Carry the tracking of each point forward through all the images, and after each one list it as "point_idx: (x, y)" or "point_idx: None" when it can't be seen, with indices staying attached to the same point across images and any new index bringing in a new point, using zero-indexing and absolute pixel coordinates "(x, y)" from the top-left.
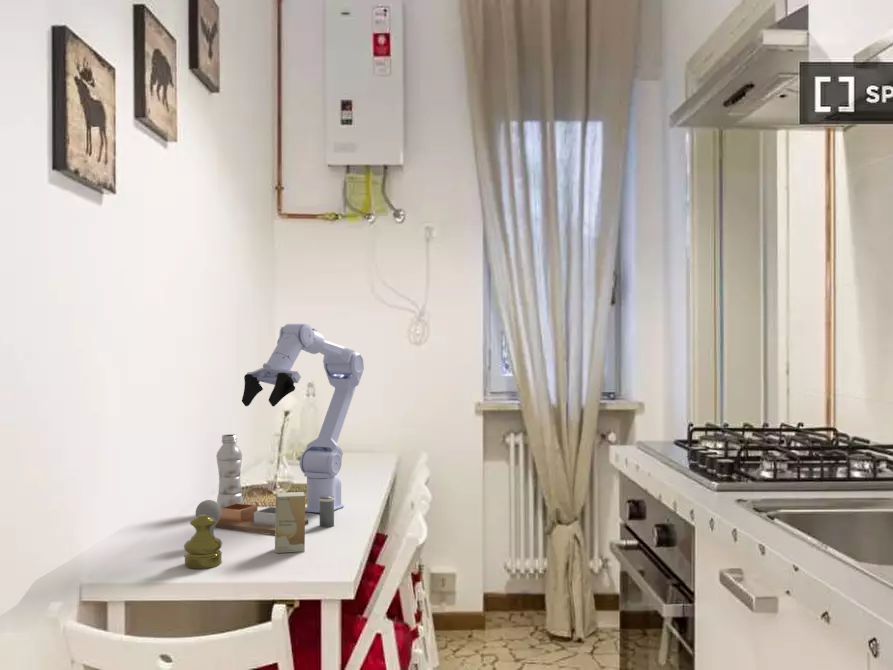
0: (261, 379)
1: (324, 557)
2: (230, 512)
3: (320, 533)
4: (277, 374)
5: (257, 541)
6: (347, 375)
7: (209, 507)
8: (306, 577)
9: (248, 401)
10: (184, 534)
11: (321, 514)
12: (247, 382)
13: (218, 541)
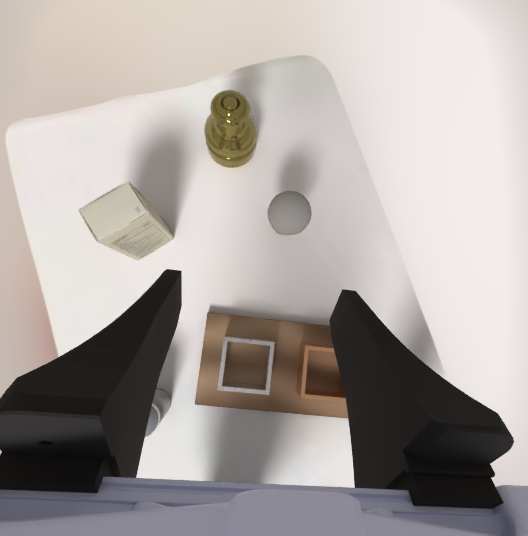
0: (359, 488)
1: (78, 217)
2: (326, 347)
3: None
4: (108, 393)
5: (222, 269)
6: None
7: (279, 195)
8: (65, 128)
9: (336, 328)
10: (355, 273)
11: (157, 395)
12: (417, 374)
13: (207, 131)
